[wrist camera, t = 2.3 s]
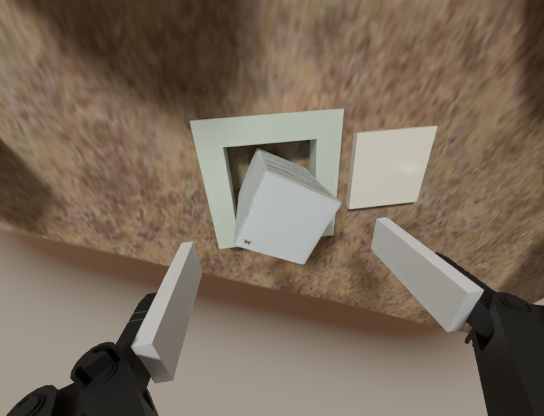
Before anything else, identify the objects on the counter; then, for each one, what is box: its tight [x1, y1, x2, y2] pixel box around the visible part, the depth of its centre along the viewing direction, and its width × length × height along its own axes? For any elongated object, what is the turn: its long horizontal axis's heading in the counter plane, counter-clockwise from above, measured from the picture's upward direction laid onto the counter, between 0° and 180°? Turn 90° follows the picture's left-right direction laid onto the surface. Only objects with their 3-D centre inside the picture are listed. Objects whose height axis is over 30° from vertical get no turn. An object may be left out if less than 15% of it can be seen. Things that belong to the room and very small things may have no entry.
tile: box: [346, 126, 438, 209], centre depth 29 cm, size 11×11×1 cm
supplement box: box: [234, 148, 341, 264], centre depth 22 cm, size 7×7×13 cm
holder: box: [190, 109, 344, 249], centre depth 27 cm, size 17×17×3 cm
